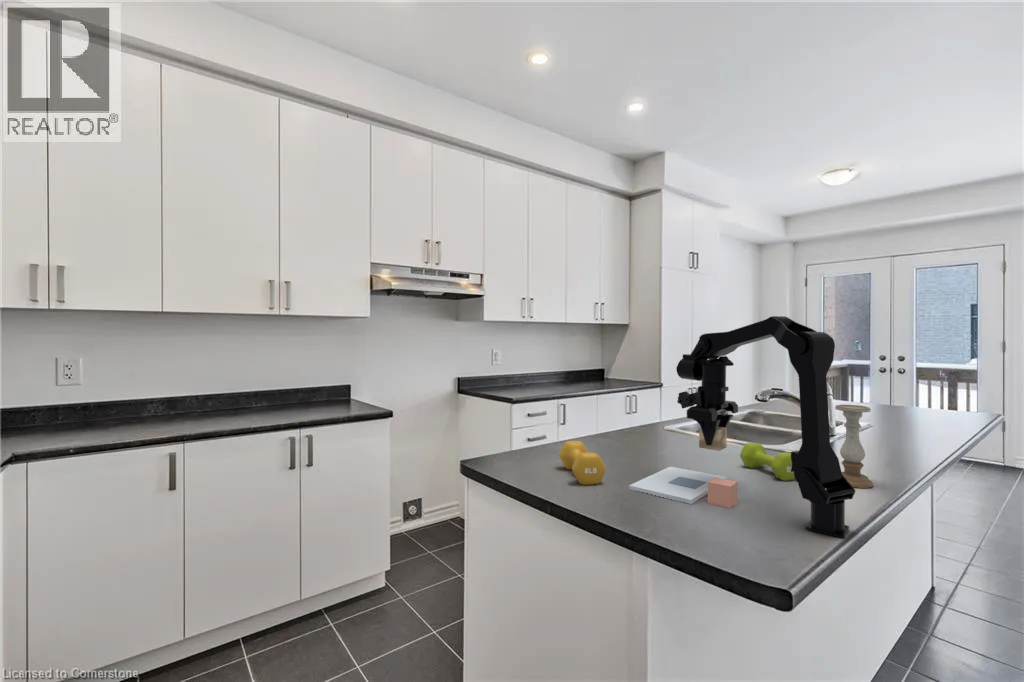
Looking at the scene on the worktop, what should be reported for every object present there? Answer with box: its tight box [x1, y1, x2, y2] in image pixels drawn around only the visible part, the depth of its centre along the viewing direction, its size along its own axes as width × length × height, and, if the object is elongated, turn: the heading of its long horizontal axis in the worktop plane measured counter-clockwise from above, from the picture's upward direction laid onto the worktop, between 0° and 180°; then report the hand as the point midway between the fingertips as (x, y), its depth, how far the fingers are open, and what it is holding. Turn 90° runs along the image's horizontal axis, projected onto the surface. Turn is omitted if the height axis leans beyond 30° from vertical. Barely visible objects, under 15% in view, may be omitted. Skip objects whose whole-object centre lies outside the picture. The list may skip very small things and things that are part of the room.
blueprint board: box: [628, 466, 728, 505], centre depth 125 cm, size 24×16×1 cm, turn 137°
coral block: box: [707, 477, 739, 509], centre depth 112 cm, size 5×5×5 cm
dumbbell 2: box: [739, 442, 795, 482], centre depth 136 cm, size 16×8×7 cm, turn 12°
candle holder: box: [834, 404, 874, 489], centre depth 126 cm, size 9×9×20 cm
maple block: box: [698, 427, 728, 452], centre depth 122 cm, size 5×5×5 cm
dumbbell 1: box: [558, 440, 607, 486], centre depth 134 cm, size 19×9×8 cm, turn 7°
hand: (712, 443), depth 122 cm, fingers closed on maple block, 5 cm apart
